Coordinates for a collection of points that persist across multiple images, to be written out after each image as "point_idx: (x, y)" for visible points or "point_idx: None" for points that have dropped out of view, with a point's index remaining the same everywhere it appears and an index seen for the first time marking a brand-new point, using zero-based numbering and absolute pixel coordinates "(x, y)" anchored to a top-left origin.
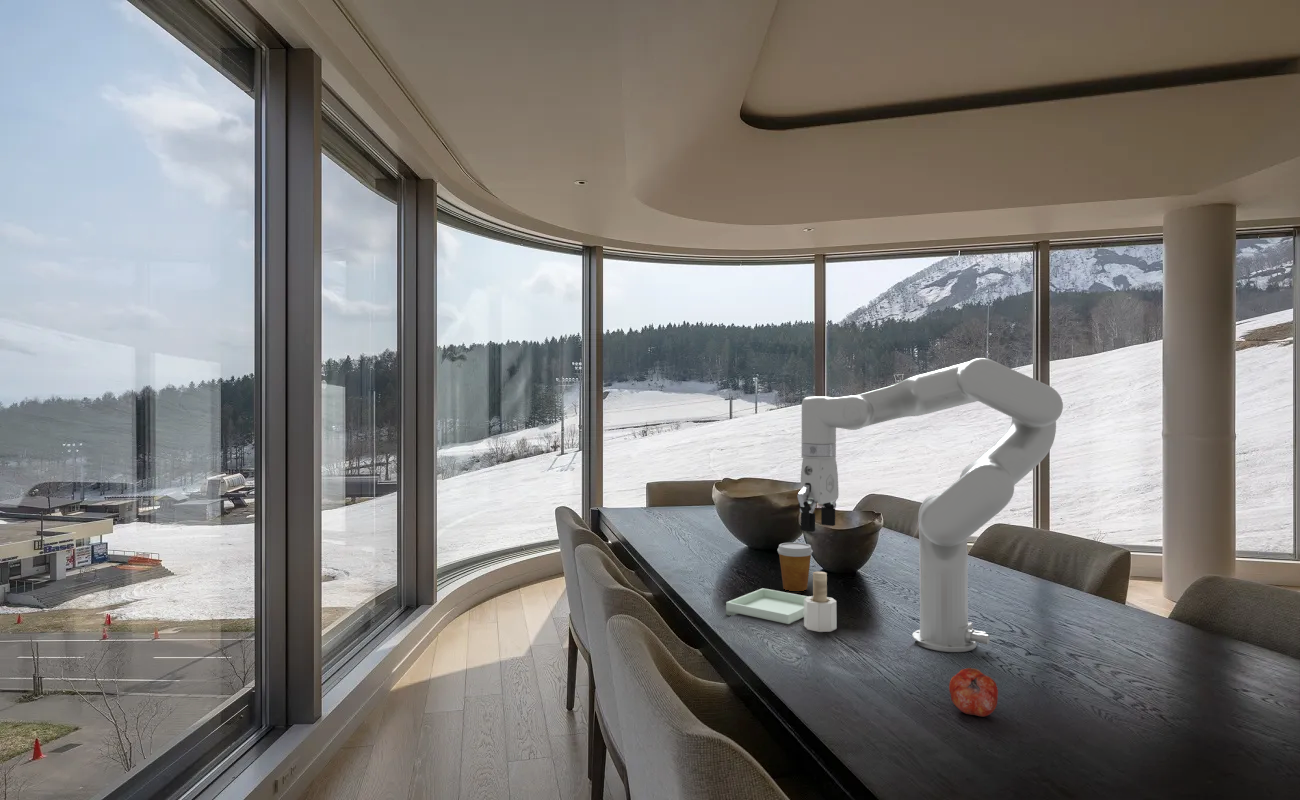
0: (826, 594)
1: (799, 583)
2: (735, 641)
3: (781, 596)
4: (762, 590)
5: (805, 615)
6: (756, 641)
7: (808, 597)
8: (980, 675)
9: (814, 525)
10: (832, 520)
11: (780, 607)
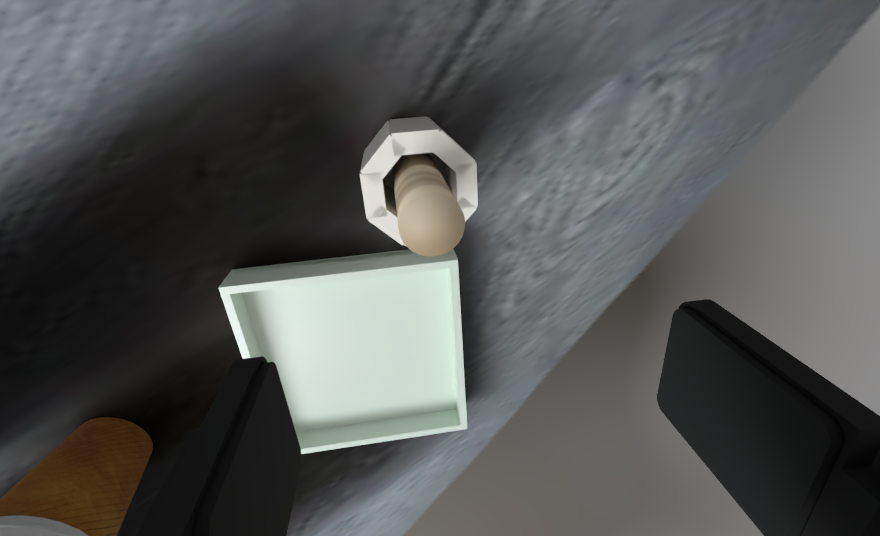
0: (417, 170)
1: (113, 440)
2: (623, 273)
3: None
4: None
5: None
6: (596, 239)
7: None
8: None
9: (742, 327)
10: (259, 403)
11: (336, 351)
